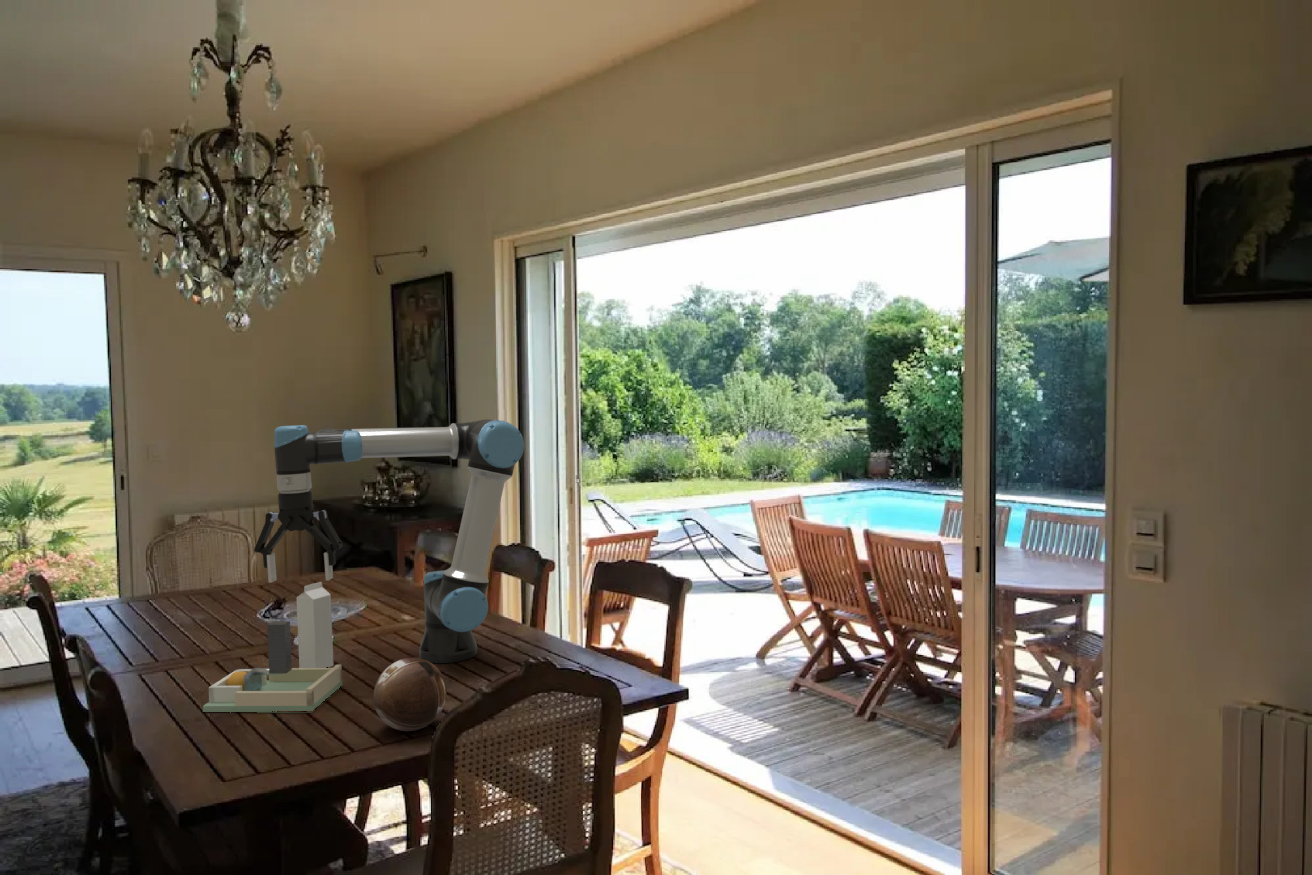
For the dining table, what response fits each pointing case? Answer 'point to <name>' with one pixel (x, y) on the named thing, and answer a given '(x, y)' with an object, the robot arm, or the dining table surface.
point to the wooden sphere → (410, 694)
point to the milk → (315, 627)
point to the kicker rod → (273, 655)
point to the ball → (237, 679)
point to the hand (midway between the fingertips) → (301, 580)
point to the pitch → (277, 691)
